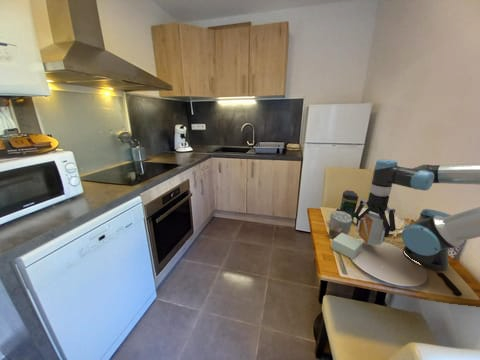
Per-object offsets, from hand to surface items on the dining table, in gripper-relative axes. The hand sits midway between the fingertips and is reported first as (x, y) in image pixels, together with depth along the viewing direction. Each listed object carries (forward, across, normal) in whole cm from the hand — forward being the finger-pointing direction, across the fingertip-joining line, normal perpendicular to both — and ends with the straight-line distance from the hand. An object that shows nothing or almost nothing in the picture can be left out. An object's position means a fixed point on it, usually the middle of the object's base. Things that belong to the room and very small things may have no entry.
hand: (369, 236), depth 96 cm
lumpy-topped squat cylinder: (+6, +18, -5) cm, 19 cm away
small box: (+2, 0, 0) cm, 2 cm away
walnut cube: (+6, +14, +6) cm, 16 cm away
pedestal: (+6, +5, +11) cm, 13 cm away
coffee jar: (+5, +21, -17) cm, 27 cm away
